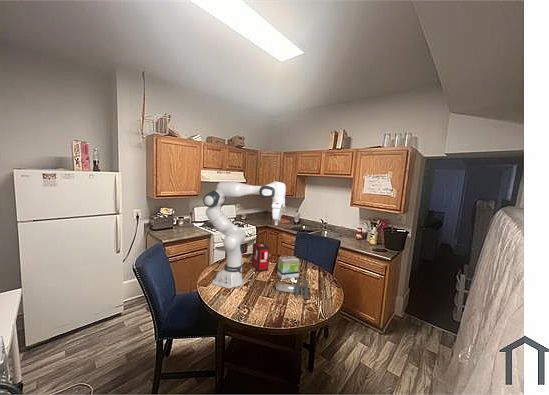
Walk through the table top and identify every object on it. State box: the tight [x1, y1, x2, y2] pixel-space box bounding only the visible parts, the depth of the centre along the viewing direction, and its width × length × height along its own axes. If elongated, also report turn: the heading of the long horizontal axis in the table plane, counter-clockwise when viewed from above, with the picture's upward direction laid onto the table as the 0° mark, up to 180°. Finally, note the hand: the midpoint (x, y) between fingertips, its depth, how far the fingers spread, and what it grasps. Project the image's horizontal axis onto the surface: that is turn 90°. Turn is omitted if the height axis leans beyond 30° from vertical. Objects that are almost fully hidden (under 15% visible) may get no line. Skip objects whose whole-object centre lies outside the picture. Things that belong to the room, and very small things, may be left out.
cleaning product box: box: [251, 241, 270, 273], centre depth 195 cm, size 16×9×20 cm, turn 25°
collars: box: [294, 279, 313, 299], centre depth 156 cm, size 11×10×9 cm
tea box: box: [276, 255, 301, 280], centre depth 182 cm, size 15×10×15 cm
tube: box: [275, 282, 303, 295], centre depth 158 cm, size 18×5×5 cm, turn 79°
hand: (277, 223), depth 156 cm, fingers open, 8 cm apart
